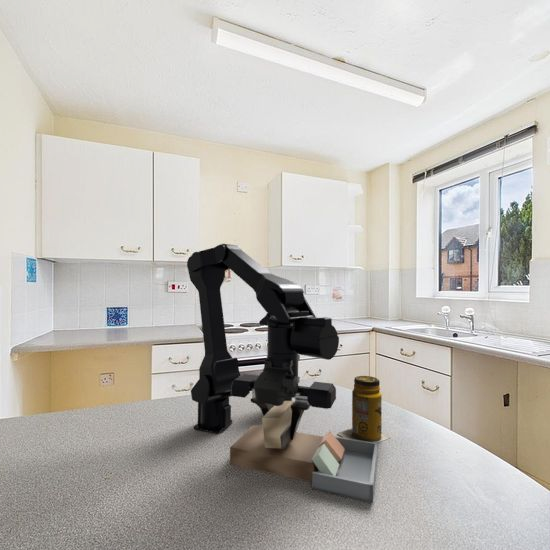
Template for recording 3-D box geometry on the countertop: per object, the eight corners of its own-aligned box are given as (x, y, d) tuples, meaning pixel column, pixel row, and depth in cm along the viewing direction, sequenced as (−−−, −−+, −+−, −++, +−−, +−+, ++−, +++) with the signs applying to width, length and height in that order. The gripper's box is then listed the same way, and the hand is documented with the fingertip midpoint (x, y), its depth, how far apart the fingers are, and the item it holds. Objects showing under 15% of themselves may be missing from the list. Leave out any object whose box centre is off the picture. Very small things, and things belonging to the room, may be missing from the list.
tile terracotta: (319, 444, 59) (325, 439, 59) (324, 435, 63) (329, 430, 62) (335, 464, 58) (341, 459, 58) (338, 453, 62) (344, 448, 61)
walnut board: (229, 464, 58) (230, 447, 59) (252, 439, 68) (253, 425, 68) (313, 482, 53) (313, 463, 53) (325, 453, 63) (325, 436, 63)
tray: (312, 489, 51) (312, 473, 51) (329, 448, 64) (329, 435, 65) (372, 503, 48) (372, 485, 48) (377, 456, 61) (377, 443, 61)
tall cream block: (264, 447, 57) (262, 417, 57) (281, 426, 65) (279, 400, 66) (283, 448, 56) (280, 418, 56) (298, 427, 64) (295, 401, 64)
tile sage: (311, 459, 54) (318, 454, 53) (317, 448, 57) (324, 443, 57) (327, 482, 53) (334, 477, 52) (332, 469, 56) (339, 464, 56)
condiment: (390, 438, 69) (390, 380, 70) (362, 448, 65) (362, 386, 65) (363, 425, 75) (363, 372, 76) (336, 434, 71) (336, 377, 71)
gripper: (216, 355, 57) (214, 448, 56) (324, 365, 50) (323, 470, 50) (244, 345, 67) (243, 423, 67) (336, 352, 61) (336, 438, 60)
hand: (282, 437), depth 61 cm, fingers closed on tall cream block, 3 cm apart
